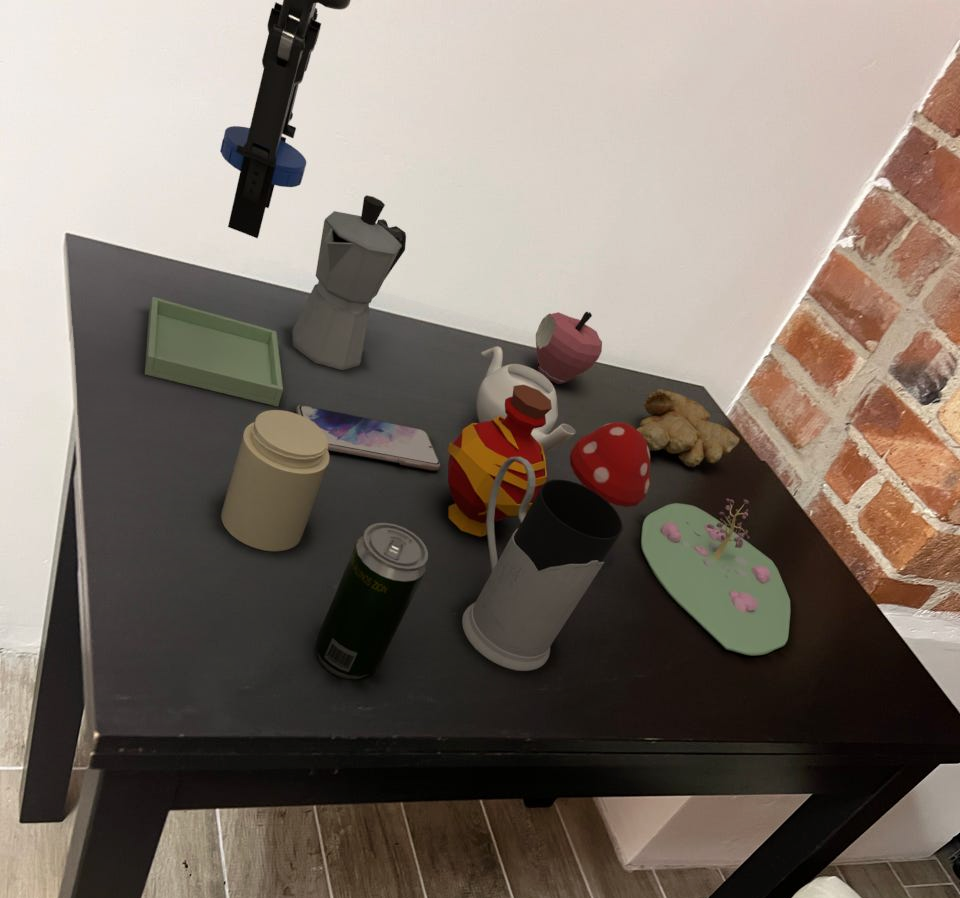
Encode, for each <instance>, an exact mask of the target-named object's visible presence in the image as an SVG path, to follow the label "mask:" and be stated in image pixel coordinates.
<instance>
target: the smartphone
mask: <svg viewBox="0 0 960 898" xmlns="http://www.w3.org/2000/svg"><path fill="white" fill-rule="evenodd" d="M295 414H298V415H301V416H303V417H305V418H307V419H309V420H310V421H312V422H313V423H315V424H316V425H317V426H318V427H320V428H321V430H322V431H323V432H324V434H325V435H326V437H327V439H328V443H329V445H328V448H327V450H328V451H330V452H335V453H341V454H347V455H351V456H358V457H363V458H369V459H375V460H378V461H384V462H390V463H397V464H399V465H400V466H405V467H410V468H415V469H421V470H426V471H432V472H433V471H439V469H440V468H441V461H440V459H439V457H438V455H437V452H436V449H435V448H434V445H433V443H432V441H431V438H430V435H429V434H428V432H427V431H426V430H425V429H422V428H419V427H418V428H417V427H413V426H409V425H408V426H407V425H403V424H398V423H395V422H388V421H383V420H378V419H373V418H370V417H369V418H368V417H364V416H359V415H354V414H350V413H345V412H340V411H335V410H329V409H325V408H319V407H315V406H310V405H306V404H300V405H297V407H296V408H295Z"/></svg>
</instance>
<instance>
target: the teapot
mask: <svg viewBox="0 0 960 898" xmlns="http://www.w3.org/2000/svg"><path fill="white" fill-rule="evenodd" d="M503 352H504V351H503V349H502V347H501V346H498V345H497V346H493V347H491V348H488V349H486V350H483V351H482V352H480V354H481V355H482V356H484V357H485V358H491V357H492V358H491V359H492V360H491V362H490V364H489V366H488V369H487V371H486V374H485V376H484V378H483V380H482V382H481V383H480V385H479V387H478V390H477V395H476V401H475V403H476V404H475V409H476V416H477V419H478V423H480V422H486V421H491V420H493V418H495V417H498V416H501V417H503V418H506V416H507V414H506V413H505V399H507V398H509V397H512V396H513V388H514V386H517V385H526V386H529V387H532V388H534V389H537V390H539V391H540V392H541V393H543V394H544V395H545V396H546V397H547V398H548V399H550V400H551V406H552V409H551V410H550V411H549V412H548V413H547V414H545V418H546V424H545V425H544V426H543V427H540V428H535V429H533V431H532V433H531V435H532V436H533V437H534V438H535V439H536V440H537V441H538V442H539V443H540V444H541V445H542V447H543V452H544V455H545V456H546V455H547V454H549V453H552V452H553V451H555V450H556V449H558V448H559V447H561V446H562V445H564V444H565V443H566V442H567V441H569V440H570V439H571V438H573V437H574V436H575V434H576V430H575V428H574V427H572V426H571V425H570V424H567V423H561V424H560V425H559V426H558V427H556V428H555V429H554V426H555V425H556V423H557V420H558V417H559V410H558V409H559V406H558V396H557V392H556V389H555V386H554V385H553V382H552V381H549V380H548V379H547V378H546V377H545V376H544V375H542V374H541V373H539V370H536V369H534V368H532V367H530V366H528V365H524V364H519V363H509V364H506V365H503V358H504V353H503ZM552 429H554V430H552ZM541 452H542V451H541Z"/></svg>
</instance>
